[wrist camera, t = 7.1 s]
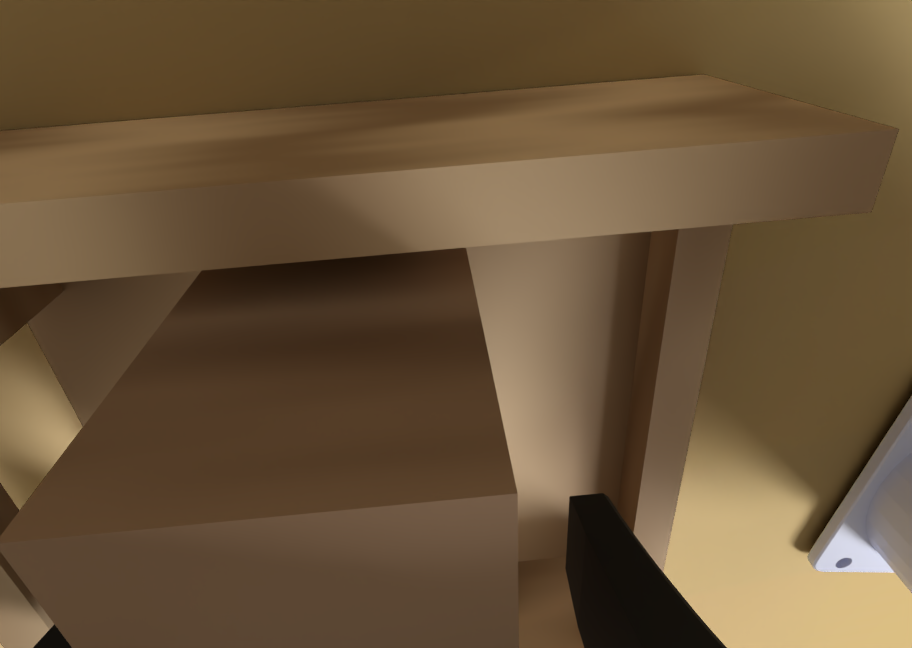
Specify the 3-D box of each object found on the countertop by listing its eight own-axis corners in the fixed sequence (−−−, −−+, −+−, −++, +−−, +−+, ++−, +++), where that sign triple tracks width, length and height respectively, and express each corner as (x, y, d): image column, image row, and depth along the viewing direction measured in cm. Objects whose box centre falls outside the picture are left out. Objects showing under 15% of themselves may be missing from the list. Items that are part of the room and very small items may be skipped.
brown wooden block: (223, 241, 9) (-6, 543, 4) (460, 221, 9) (517, 494, 4) (330, 599, 15) (284, 932, 9) (482, 584, 15) (520, 905, 9)
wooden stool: (704, 74, 11) (898, 128, 6) (632, 547, 18) (702, 722, 14) (-38, 134, 10) (-353, 233, 6) (193, 591, 18) (122, 785, 13)
